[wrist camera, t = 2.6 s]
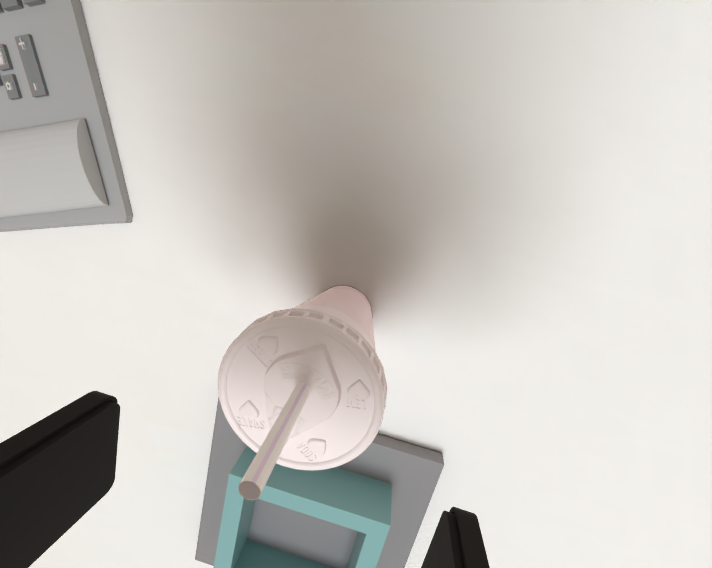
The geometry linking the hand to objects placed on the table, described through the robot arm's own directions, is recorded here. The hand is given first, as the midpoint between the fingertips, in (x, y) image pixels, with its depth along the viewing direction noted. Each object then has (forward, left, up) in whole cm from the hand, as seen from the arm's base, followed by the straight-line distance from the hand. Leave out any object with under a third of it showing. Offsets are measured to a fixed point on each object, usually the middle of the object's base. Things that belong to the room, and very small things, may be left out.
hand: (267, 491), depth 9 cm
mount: (+15, +1, -13) cm, 20 cm away
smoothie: (-1, 0, -13) cm, 13 cm away
